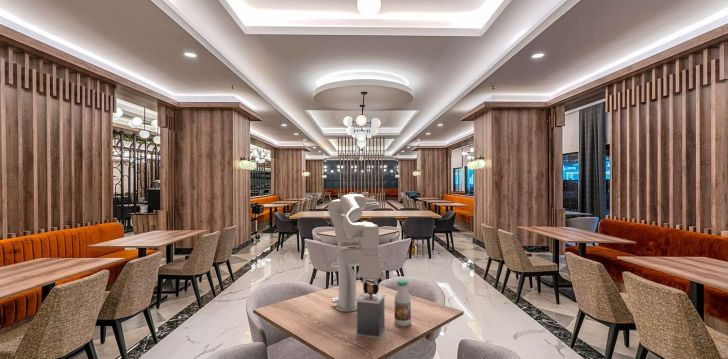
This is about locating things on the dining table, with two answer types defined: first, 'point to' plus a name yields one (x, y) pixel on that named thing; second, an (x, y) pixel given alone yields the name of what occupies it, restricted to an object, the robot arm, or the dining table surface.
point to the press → (370, 315)
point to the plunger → (370, 288)
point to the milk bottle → (402, 305)
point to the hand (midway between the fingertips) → (370, 292)
